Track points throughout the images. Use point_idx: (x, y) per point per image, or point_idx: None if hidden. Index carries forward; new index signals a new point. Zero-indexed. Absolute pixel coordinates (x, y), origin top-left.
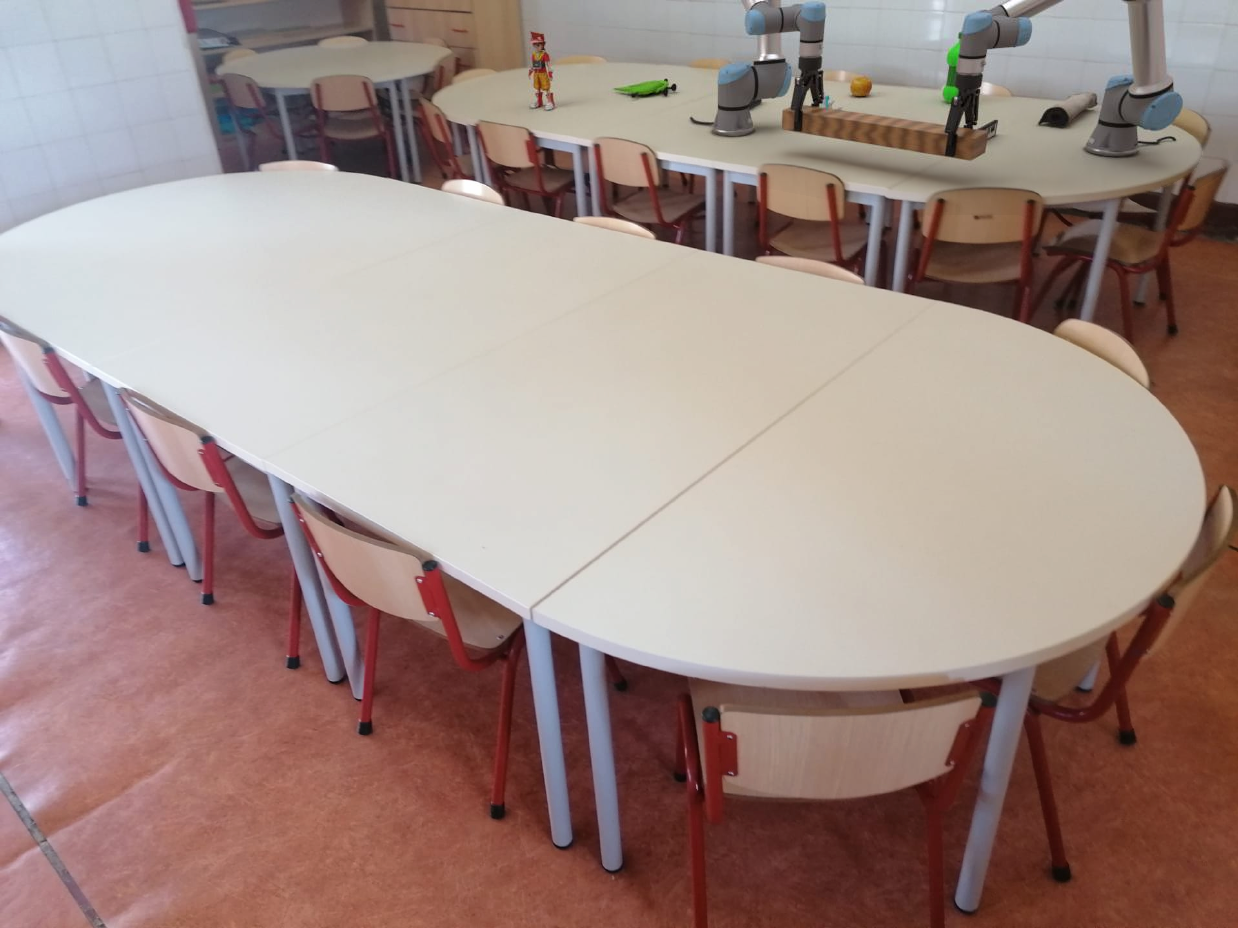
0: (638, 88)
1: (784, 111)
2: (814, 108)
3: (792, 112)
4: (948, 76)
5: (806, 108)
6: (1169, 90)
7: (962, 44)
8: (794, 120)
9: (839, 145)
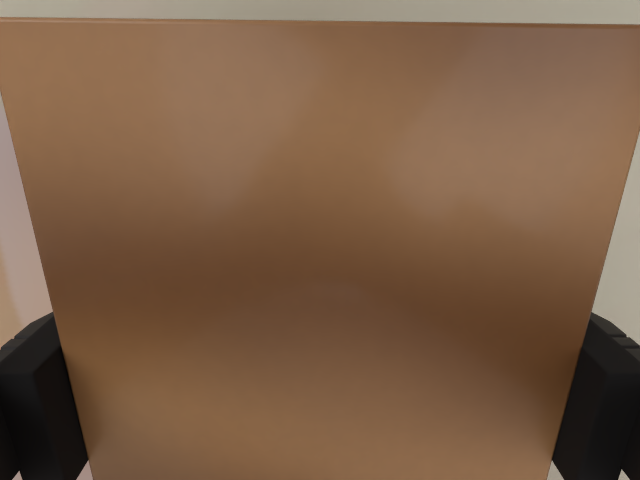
0: None
1: (10, 79)
2: (434, 467)
3: (56, 272)
4: None
5: (372, 374)
6: None
7: None
8: (45, 320)
9: (607, 274)
